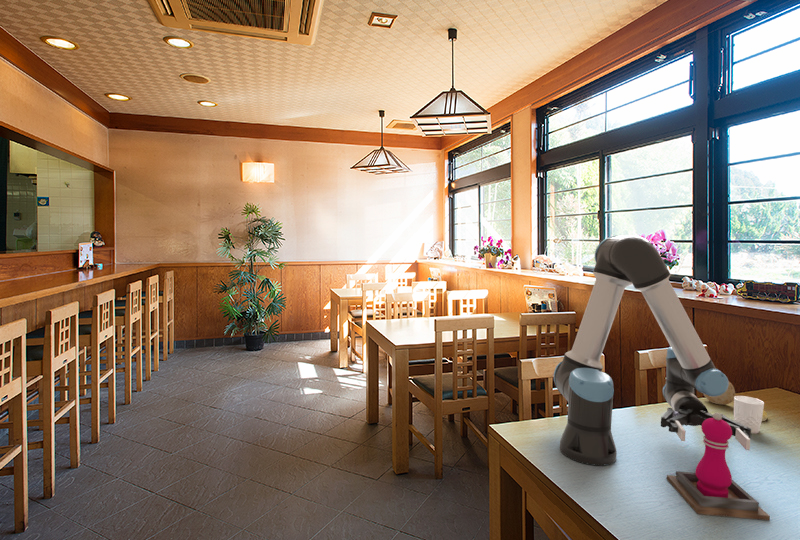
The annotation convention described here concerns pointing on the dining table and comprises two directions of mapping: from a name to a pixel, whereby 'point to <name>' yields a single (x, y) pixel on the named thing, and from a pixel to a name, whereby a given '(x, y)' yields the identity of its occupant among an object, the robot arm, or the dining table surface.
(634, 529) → the dining table surface
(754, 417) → the white cup
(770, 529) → the dining table surface
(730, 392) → the stone disc
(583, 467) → the dining table surface
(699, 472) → the pepper mill
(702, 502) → the cruet board
